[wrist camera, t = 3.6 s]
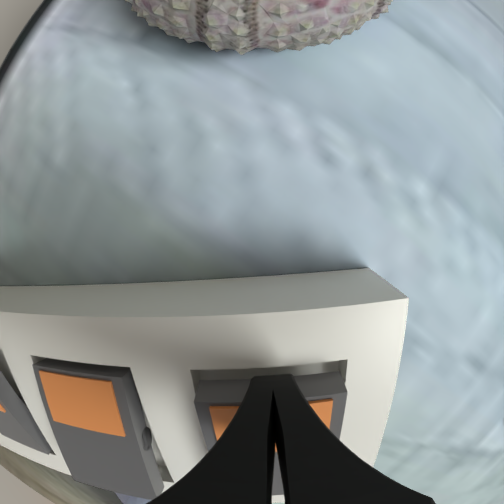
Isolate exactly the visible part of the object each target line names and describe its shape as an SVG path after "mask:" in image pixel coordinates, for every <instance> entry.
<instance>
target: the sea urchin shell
mask: <svg viewBox="0 0 504 504" xmlns="http://www.w3.org/2000/svg"><path fill="white" fill-rule="evenodd" d="M125 1H127V2H130V4H132V9H131V11H135V12H137V16H138V17H143V18H145V19H146V21H147V22H148V25H149V26H155V27H159V28H160V29H163V30H164V31H165V33H166V34H167V35H170V36H176V37H179V38H180V39H185V40H186V41H187V42H188V43H191V42H195V41H200V42H205V43H206V44H207V45H208V47H209V48H210V49H211V50H215V51H216V52H218V51H220V50H223V49H232V50H236V51H237V52H238V53H239V54H241V55H242V54H245V53H247V52H249V51H251V50H253V49H255V48H266V49H270V50H272V51H275V52H280V51H282V50H285V49H291V50H298V51H300V50H302V49H303V48H304V47H306V46H316V45H319V44H321V43H324V44H331V42H332V41H333V40H334V39H341V37H342V36H343V35H349V34H351V33H352V32H353V31H354V30H359V29H360V27H361V26H362V25H363V24H364V22H365V21H369V20H371V19H377V18H379V14H380V13H386V12H388V5H391V2H392V1H393V0H125Z"/></svg>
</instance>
